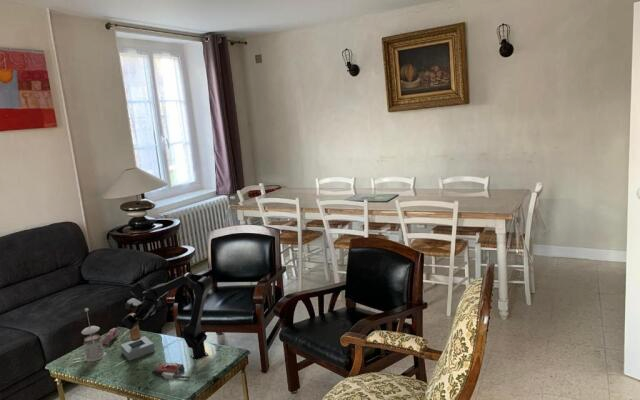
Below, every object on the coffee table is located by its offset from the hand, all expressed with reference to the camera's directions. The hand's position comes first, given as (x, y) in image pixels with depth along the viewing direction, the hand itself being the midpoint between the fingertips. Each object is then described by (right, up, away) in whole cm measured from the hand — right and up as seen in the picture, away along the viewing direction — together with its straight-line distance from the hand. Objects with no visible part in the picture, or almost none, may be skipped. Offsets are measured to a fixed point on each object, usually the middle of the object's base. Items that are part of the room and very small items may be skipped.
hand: (131, 326), depth 232 cm
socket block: (+3, -13, +2) cm, 13 cm away
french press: (-18, -15, +2) cm, 24 cm away
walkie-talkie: (+28, -16, -22) cm, 39 cm away
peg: (+2, -6, +1) cm, 7 cm away
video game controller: (-18, -12, +18) cm, 28 cm away
